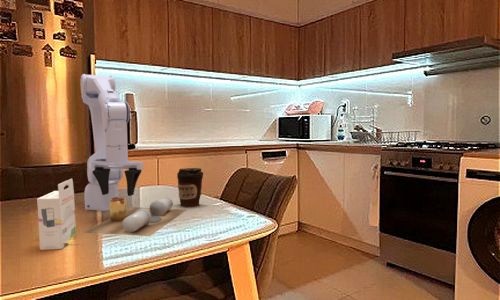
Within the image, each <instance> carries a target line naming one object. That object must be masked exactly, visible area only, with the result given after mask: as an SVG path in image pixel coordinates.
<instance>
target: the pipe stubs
mask: <svg viewBox="0 0 500 300" xmlns="http://www.w3.org/2000/svg"><path fill="white" fill-rule="evenodd" d="M173 206H174V202H173V200H172V199H171V198H170V197H168V196H167V197H165V196H164V197H163V198H161V199H157V200H154V201H152V202H151V203H150V205H149V207H148V208H149V210H150V212H149V211H148V210H147V209H144V208H145V207H140V208H141V209H138V210H137V211H135V213H134V214H132V215H130V216H128V217H126V218H125V219H124V220H123V223H122V225H123V228H124V230H125V231H127V232H129V233H132V232H134V231H136V230H138V229H139V228H141V227H142V226H147V225H148V224H149V223H150V222H151V214H152V215H153V216H163V215H164V214H165V212H166V211H168V210H170V209H173ZM150 213H151V214H150Z"/></svg>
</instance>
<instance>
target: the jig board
mask: <svg viewBox="0 0 500 300" xmlns="http://www.w3.org/2000/svg"><path fill="white" fill-rule="evenodd" d="M141 208H142V207H137V206H136V207H133V206H132V207H130V208H129V209H128V208H127V217H128V216H130V215H132V214H134V213H135V211H137V210H138V209H141ZM143 208H144V209H147V210H148V211H149V212H150V210H149V207H143ZM185 212H187V209H182V208H181V209H180V208H171V209H170V210H168V211H166V212H165V214H164V215H163V216H153V215H152V214H151V213H150V214H151V217H160V218H162V220H161V221H159V222H155V223H149V224H148V225H147V226H142V227H141V228H139V229H138V230H136V231H134V232H132V233H129V232H127V231H125V230H124V228H123V225H122V223H123V221H120V222H113V221H110V218H108V219H106V220H104V221H101V222H100V223H97V224H96V225H94V226H92V227H89V228H88V229H86V230H83V231H82V233H89V234H91V233H92V234H107V235H108V234H110V235H127V236H143V237H151V236H153V235H154V234H155V233H157V232H158V231H159V230H161V229H162V228H164V227H165V226H166V225H168V224H169V223H171V222H172V221H174V220H175V219H177V218H178V217H180V216H181V215H182V214H183V213H185Z"/></svg>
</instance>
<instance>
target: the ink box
mask: <svg viewBox="0 0 500 300" xmlns="http://www.w3.org/2000/svg"><path fill="white" fill-rule="evenodd" d="M66 186H68V187H67V188H65V187H66ZM36 201H37V202H36V205H37V216H38V217H37V219H38V234H39V235H38V236H39V237H38V238H39V250H41V251H45V250H50V251H51V250H62V249H64V248H65V247H66V246H68V245H69V243H67V241H69V240H70V239H71V238H72V237H74V236H75V235H76V234H77V228H76V227H77V226H76V208H75V207H76V205H75V190H74V181H73V178H70V179H68V180H67V179H66V180H65V181H62V182H61V183H58V184H57V190H53V191H52V192H49V193H47V194H44V195H43V196H42V195H41V196H40V197H38V198H37V199H36Z"/></svg>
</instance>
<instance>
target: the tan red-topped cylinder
mask: <svg viewBox="0 0 500 300" xmlns="http://www.w3.org/2000/svg"><path fill="white" fill-rule="evenodd" d="M127 206H128V204H127V199H126V198H125V197H124V196H118V197H114V198H112V200H110V210H109V219H110V221H113V222H120V221H123V220H124V219H125V218H126V217H127V210H128V207H127Z"/></svg>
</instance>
